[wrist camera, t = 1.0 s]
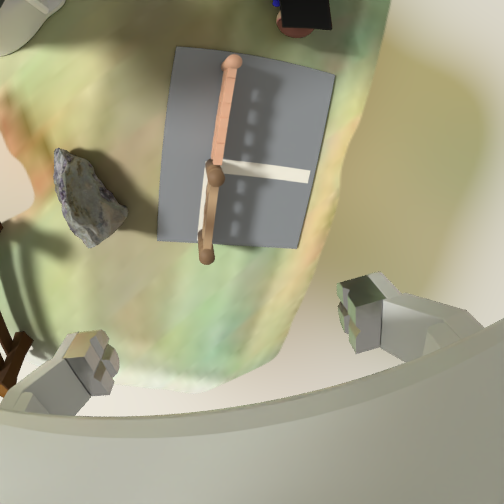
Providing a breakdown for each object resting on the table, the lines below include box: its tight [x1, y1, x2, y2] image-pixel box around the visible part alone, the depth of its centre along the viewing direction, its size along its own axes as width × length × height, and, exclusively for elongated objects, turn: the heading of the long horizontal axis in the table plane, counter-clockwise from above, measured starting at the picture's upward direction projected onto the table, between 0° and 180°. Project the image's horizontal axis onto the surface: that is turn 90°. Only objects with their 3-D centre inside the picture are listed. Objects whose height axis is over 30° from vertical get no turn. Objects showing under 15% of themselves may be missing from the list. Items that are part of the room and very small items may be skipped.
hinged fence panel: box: [211, 54, 242, 165], centre depth 34 cm, size 13×2×6 cm, turn 171°
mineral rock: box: [53, 148, 128, 248], centre depth 34 cm, size 13×11×10 cm
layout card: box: [157, 47, 335, 249], centre depth 41 cm, size 28×22×1 cm
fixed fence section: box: [198, 159, 225, 265], centre depth 40 cm, size 12×2×7 cm, turn 171°
